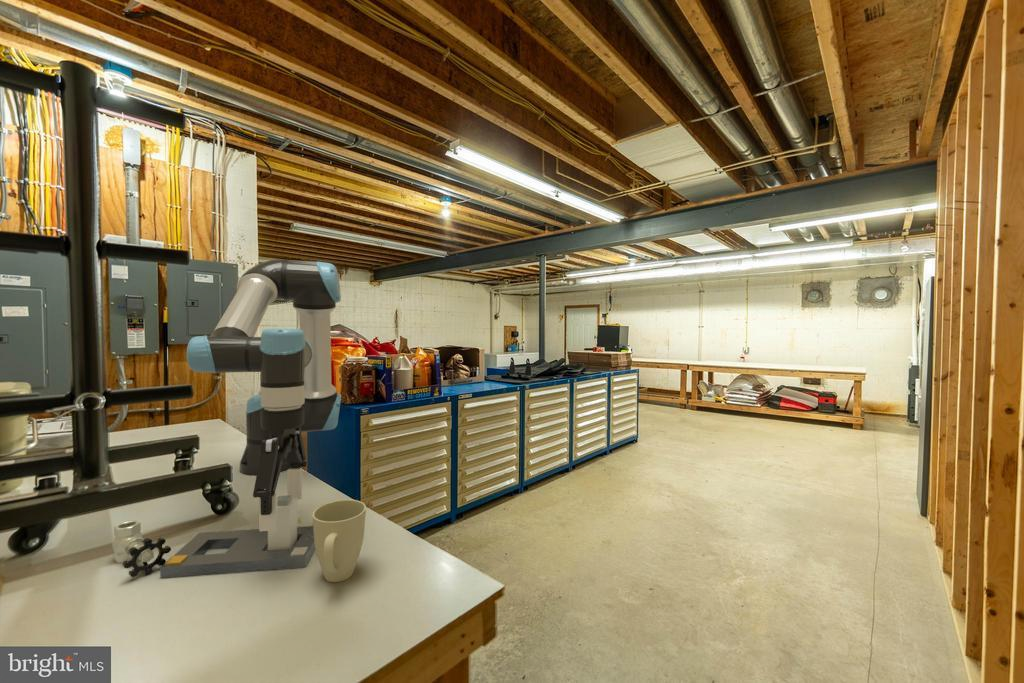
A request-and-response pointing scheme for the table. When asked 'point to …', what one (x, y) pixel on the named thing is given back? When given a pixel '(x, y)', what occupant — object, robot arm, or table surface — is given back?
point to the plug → (284, 525)
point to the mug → (339, 537)
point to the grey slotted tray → (238, 553)
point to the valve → (136, 548)
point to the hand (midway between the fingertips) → (282, 513)
